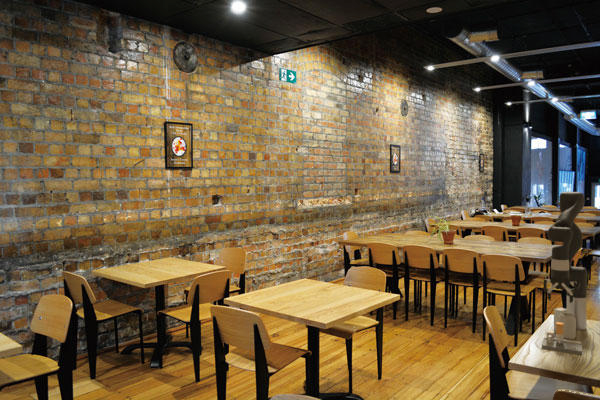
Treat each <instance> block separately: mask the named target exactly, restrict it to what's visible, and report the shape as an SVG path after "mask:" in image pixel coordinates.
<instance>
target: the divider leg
mask: <svg viewBox="0 0 600 400" xmlns="http://www.w3.org/2000/svg"><path fill="white" fill-rule="evenodd" d="M555 338H556V343H558V345H560V344H563V343H564V340H565V339H564V323H560V322H556V332H555Z"/></svg>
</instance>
